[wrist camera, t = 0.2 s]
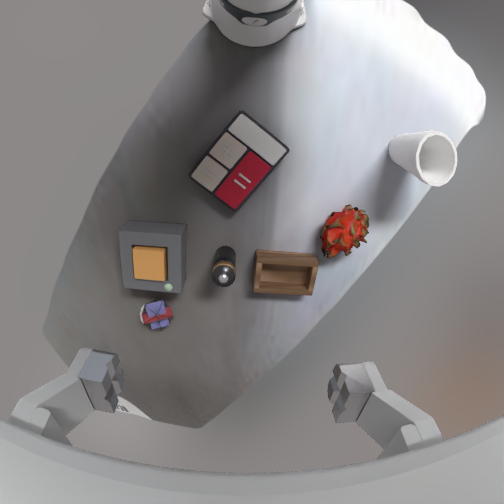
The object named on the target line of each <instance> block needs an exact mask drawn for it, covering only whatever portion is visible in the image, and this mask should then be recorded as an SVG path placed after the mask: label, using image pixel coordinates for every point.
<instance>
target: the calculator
mask: <svg viewBox="0 0 504 504" xmlns="http://www.w3.org/2000/svg"><path fill="white" fill-rule="evenodd" d="M288 152H289V148H288V147H287V146H286V145H285V144H283V143H282V142H281V141H280V140H279V139H277V138H276V137H275V136H274V135H273V134H271V133H270V132H269V131H268V130H267V129H265V128H264V127H263V126H262V125H260V124H259V123H258V122H257V121H255V120H254V119H253V118H252V117H250V116H249V115H248V114H247V113H245V112H244V111H239V113H238V114H237V115H236V116H235V117H234V118H233V120H232V121H231V122H230V123H229V124H228V126H227V127H226V128H225V129H224V130H223V132H222V133H221V134H220V135H219V136H218V138H217V139H216V140H215V141H214V143H213V144H212V145H211V146H210V148H209V149H208V150H207V151H206V153H205V154H204V155H203V156H202V158H201V159H200V160H199V162H198V163H197V164H196V165H195V167H194V168H193V169H192V171H191V172H190V173H189V177H190V178H191V179H192V180H193V181H195V182H196V183H197V184H199V185H200V186H201V187H203V188H204V189H205V190H207V191H208V192H209V193H211V194H212V195H213V196H215V197H216V198H217V199H219V200H220V201H221V202H223V203H224V204H225V205H227V206H228V207H229V208H231V209H232V210H233V211H237V210H238V209H239V208H240V207H241V206H242V205H243V203H244V202H245V201H246V200H247V199H248V198H249V196H250V195H251V194H252V193H253V192H254V191H255V190H256V188H257V187H258V186H259V185H260V184H261V183H262V182H263V180H264V179H265V178H266V177H267V176H268V175H269V174H270V172H271V171H272V170H273V169H274V168H275V167H276V166H277V164H278V163H279V162H280V161H281V160H282V159H283V158H284V157H285V156H286V154H287V153H288Z"/></svg>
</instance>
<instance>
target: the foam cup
mask: <svg viewBox="0 0 504 504" xmlns="http://www.w3.org/2000/svg"><path fill="white" fill-rule="evenodd" d="M388 149H389V155H390V157H391V159H392V161H394V162H395V163H396V164H398V165H399V166H401V167H402V168H404V169H405V170H407V171H409V172H410V173H412V174H413V175H415V176H416V177H417V178H418V179H419V180H421V181H422V182H424V183H426V184H428V185H433V186H441V185H443V184H445V183H447V182H448V181H449V180H450V179H451V177H452V176H453V175H454V172H455V169H456V166H457V151H456V149H455V146H454V144H453V141H452V140H451V139H450V138H449V137H448V136H447V135H446V134H444V133H441V132H437V131H431V130H427V131H424V132H417V133H408V134H401V135H397V136H395V137H394V138H393V139H392V140H391V141H390V144H389V147H388Z"/></svg>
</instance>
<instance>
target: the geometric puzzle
mask: <svg viewBox="0 0 504 504" xmlns="http://www.w3.org/2000/svg"><path fill="white" fill-rule="evenodd" d="M153 301H155V300H153ZM163 301H164V300H161V301H157V302H153V303H149V302H148V303H149V304H144V306H143V307H142V308H141V311H140V320H141V321H142V322H143V324H146V323H150V325H151V328H150V329H152V330H153V329H157V328H161V327H165V326H169V325H170V321H171V320H170V321H168V318H170V317H174V316H173V313H172V310H171V307H170V306H169V307H168V308H165V306H164V305H165V304H164V303H165V301H164V302H163ZM166 306H167V305H166ZM145 308H146V309H145ZM143 309H145V310H146V311H147V313H143V314H142V312H143ZM142 317H143V318H142ZM150 325H149V327H150ZM147 326H148V325H147ZM159 331H160V330H159ZM162 331H163V330H161V332H162Z"/></svg>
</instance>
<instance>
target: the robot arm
mask: <svg viewBox="0 0 504 504" xmlns="http://www.w3.org/2000/svg"><path fill="white" fill-rule="evenodd" d="M209 6H210V7H209ZM203 15H204V16H206V17H207V18H208V19H210V20H211V21H213V22H214V23H215V24H216V25H217V27H218V28H219V30H220V31H221V32H222V34H223V35H224V36H226V37H227V38H228V39H230V40H231V41H233V42H235V43H238V44H241V45H245V46H252V47H259V46H266V45H270V44H273V43H275V42H277V41H279V40H281V39H282V38H283V37H285V36H286V35H287V34H288V33H289V32H290V31H291V30H292V29H295V28H298V27H301V26H303V25H304V24H305V23H306V12H305V6H304V0H206V3H205V5H204V8H203ZM300 15H301V16H300ZM119 363H120V359H119V356H118V354H116V353H110V352H105V351H100V350H95V349H89V348H84V347H82V348H81V349H80V350H79V351H78V353H77V355H76V356H75V358H74V360H73V362H72V364H71V365H70V367H69V369H68V371H67V373H66V375H63V374H62V375H60V376H59V377H57V378H55V379H53V380H52V381H50V382H48V383H46V384H45V385H43V386H41V387H40V388H38V389H36V390H34V391H33V392H31V393H29V394H27V395H26V396H24V397H22V398H20V400H19V401H18V403H17V405H16V407H15V409H14V410H13V412H12V414H11V416H10V418H9V420H8V421H6V420H4V419H2V418H0V504H504V416H501V417H498V418H496V419H494V420H492V421H490V422H488V423H485V424H483V425H481V426H479V427H476V428H474V429H472V430H469V431H467V432H464V433H462V434H459V435H457V436H454V437H451V438H449V439H446V440H444V439H443V437H442V435H441V433H440V431H439V429H438V427H437V425H436V423H435V421H434V419H433V418H432V417H431V416H429V415H428V414H426V413H425V412H423V411H422V410H420V409H419V408H417V407H415V406H414V405H412V404H411V403H409V402H408V401H407V400H405V399H404V398H402V397H400V396H399V395H398V394H396V393H395V392H393V391H392V390H387V388H386V386H385V384H384V382H383V380H382V378H381V376H380V374H379V372H378V370H377V368H376V366H375V364H374V363H373V362H371V361H370V362H360V363H346V364H336V365H335V367H334V370H333V373H334V376H333V377H332V378H331V379H330V380H329V384H328V398H329V401H330V402H331V403H332V404H333V405H334V407H333V409H332V412H333V415H334V419H335V422H336V423H344V422H354V421H356V423H357V424H358V425H359V426H360V427H361V428H362V429H363V430H364V431H365V432H366V433H367V434H368V435H370V437H372V438H373V439H374V440H375V441H376V442H377V443H378V444H379V445H380V446H381V447H382V448H383V449H384V450H383V452H382V453H381V454H380V455H379V457H378V458H377V459H376V460H371V461H367V462H361V463H356V464H350V465H344V466H337V467H330V468H322V469H315V470H304V471H291V472H274V473H273V472H272V473H226V472H207V471H193V470H184V469H175V468H168V467H160V466H154V465H148V464H142V463H137V462H132V461H127V460H122V459H118V458H113V457H109V456H105V455H101V454H97V453H94V452H90V451H86V450H83V449H79V448H76V447H73V446H72V444H71V443H70V441H69V440H68V439H67V437H66V435H67V434H68V433H69V432H70V431H71V430H73V429H74V428H75V427H76V426H77V425H78V424H80V423H81V422H82V421H83V420H84V419H85V418H87V417H88V416H89V415H90V414H91V413H92V412H94V410H100V411H105V412H110V413H114V412H115V409H116V406H117V403H118V398H117V395H118V394H119V393H120V392H122V389H123V385H124V373H123V369H122V368H121V367H120V366H119Z"/></svg>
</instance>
